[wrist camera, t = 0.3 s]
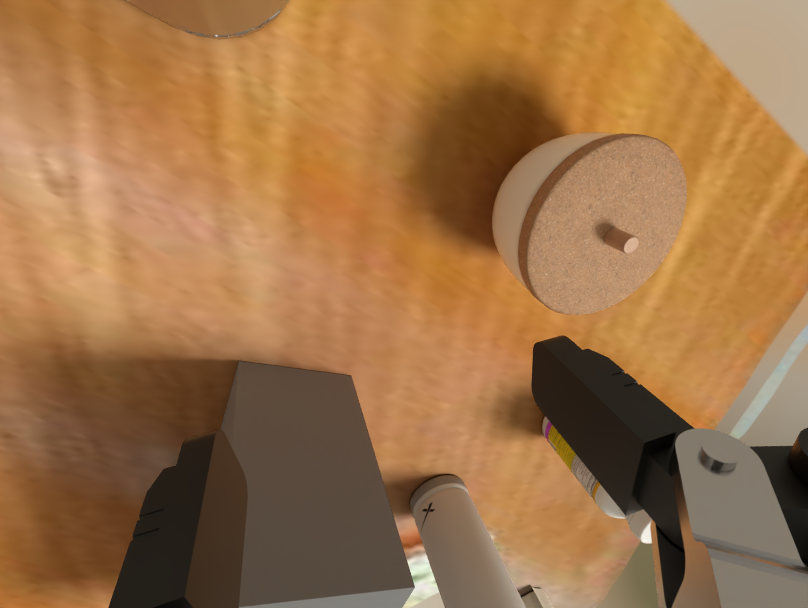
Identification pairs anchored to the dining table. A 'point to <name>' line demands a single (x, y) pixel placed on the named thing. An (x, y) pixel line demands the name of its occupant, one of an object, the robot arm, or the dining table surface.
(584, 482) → the supplement bottle
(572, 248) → the lidded jar
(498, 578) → the travel mug
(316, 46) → the dining table surface
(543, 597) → the paper towel roll
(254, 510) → the console
